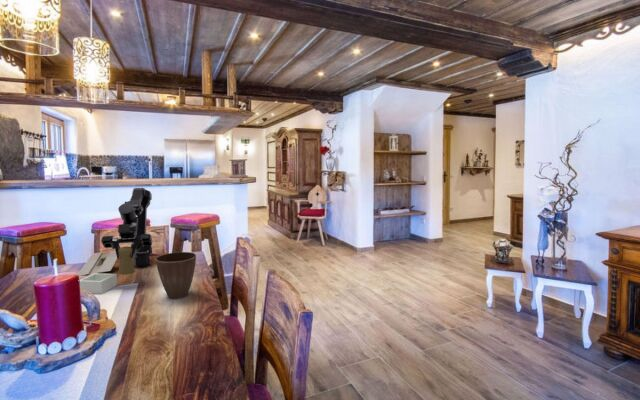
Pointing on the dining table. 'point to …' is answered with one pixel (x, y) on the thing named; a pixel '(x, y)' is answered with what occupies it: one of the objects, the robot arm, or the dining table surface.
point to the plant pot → (176, 273)
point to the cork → (126, 261)
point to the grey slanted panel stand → (99, 263)
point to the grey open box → (98, 283)
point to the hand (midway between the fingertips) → (125, 258)
